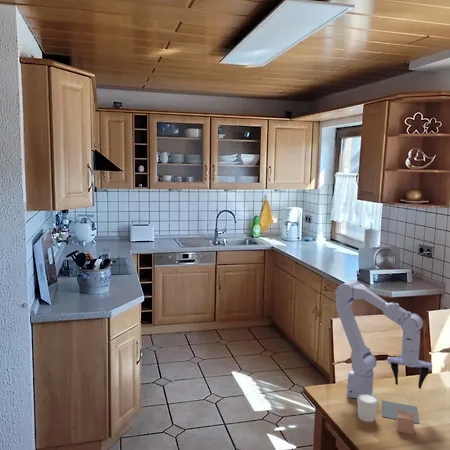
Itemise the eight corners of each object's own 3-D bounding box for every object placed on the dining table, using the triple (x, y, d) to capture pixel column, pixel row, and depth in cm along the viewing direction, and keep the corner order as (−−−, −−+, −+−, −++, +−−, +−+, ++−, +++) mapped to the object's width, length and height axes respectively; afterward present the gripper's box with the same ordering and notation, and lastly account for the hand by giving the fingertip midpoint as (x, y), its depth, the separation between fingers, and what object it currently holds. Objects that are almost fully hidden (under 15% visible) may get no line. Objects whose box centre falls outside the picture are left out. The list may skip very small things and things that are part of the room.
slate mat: (382, 416, 151) (382, 416, 151) (381, 400, 162) (381, 400, 162) (419, 423, 147) (419, 423, 147) (416, 407, 158) (416, 406, 158)
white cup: (376, 424, 146) (377, 405, 145) (355, 420, 148) (356, 401, 147) (377, 414, 152) (378, 395, 151) (356, 410, 154) (357, 392, 154)
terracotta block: (396, 431, 142) (397, 417, 142) (396, 423, 147) (397, 409, 146) (413, 434, 140) (414, 420, 140) (412, 426, 145) (413, 412, 145)
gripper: (389, 349, 152) (386, 386, 153) (434, 356, 147) (431, 394, 148) (388, 342, 158) (386, 378, 160) (431, 348, 154) (429, 385, 155)
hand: (407, 385), depth 155 cm, fingers open, 7 cm apart
